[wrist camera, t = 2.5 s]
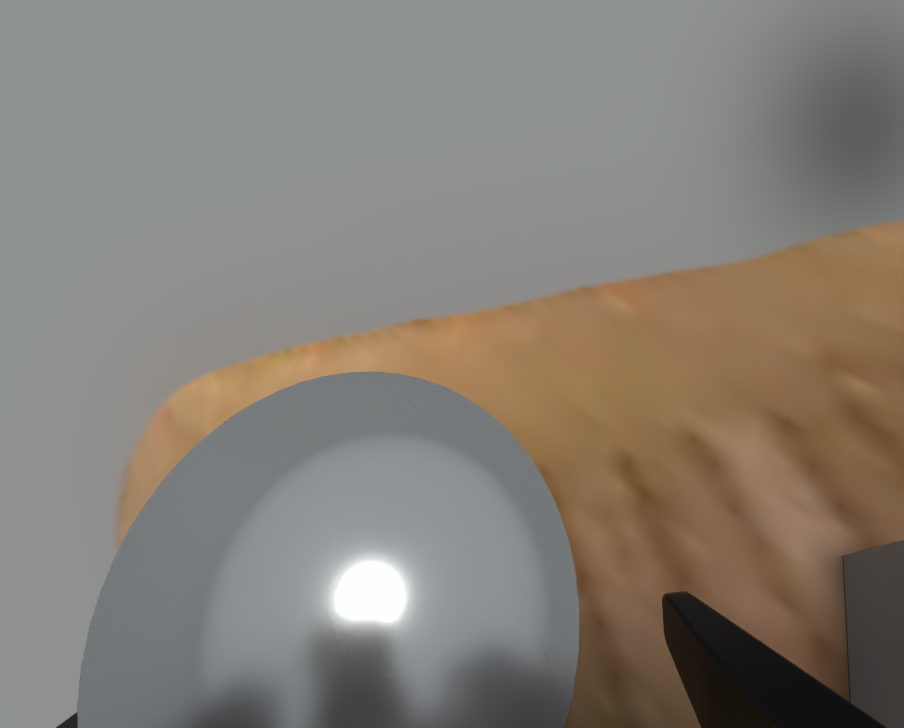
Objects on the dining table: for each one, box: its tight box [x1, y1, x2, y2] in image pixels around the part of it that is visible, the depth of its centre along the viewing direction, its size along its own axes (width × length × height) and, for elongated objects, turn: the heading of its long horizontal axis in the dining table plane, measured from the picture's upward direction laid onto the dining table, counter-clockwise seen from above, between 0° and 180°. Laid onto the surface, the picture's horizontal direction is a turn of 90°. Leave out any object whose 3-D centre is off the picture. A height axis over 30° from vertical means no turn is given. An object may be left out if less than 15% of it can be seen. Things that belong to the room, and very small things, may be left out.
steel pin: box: [77, 372, 579, 728], centre depth 10 cm, size 5×5×13 cm
